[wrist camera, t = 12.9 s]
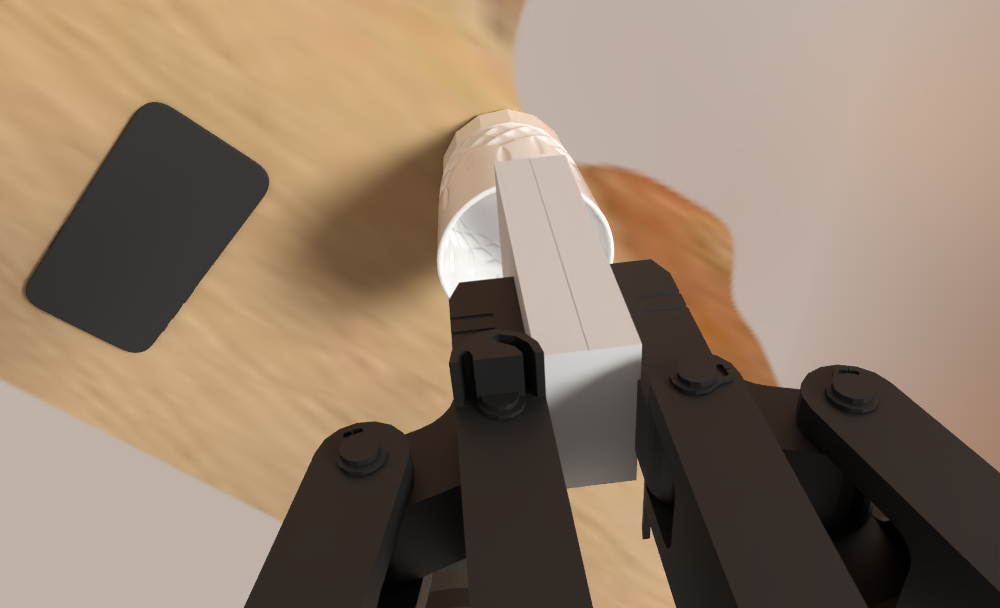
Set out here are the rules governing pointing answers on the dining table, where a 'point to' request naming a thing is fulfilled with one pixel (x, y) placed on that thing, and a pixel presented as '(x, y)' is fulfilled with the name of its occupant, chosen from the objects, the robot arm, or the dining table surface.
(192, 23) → the dining table surface
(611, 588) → the dining table surface
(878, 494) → the robot arm
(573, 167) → the white cup
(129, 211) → the phone
